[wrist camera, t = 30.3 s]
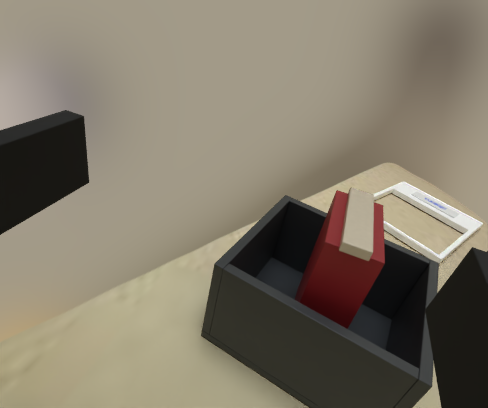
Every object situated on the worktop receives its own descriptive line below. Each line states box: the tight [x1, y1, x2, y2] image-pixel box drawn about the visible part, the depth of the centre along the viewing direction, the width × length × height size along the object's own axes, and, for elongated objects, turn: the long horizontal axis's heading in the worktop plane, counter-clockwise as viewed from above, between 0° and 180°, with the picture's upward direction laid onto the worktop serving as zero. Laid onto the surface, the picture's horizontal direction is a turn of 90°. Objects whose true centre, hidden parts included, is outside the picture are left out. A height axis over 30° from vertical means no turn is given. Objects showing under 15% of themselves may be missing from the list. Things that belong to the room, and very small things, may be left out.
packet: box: [294, 187, 385, 329], centre depth 28 cm, size 4×8×13 cm, turn 161°
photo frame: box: [374, 182, 483, 263], centre depth 54 cm, size 15×1×18 cm
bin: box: [201, 195, 439, 408], centre depth 30 cm, size 16×14×9 cm
